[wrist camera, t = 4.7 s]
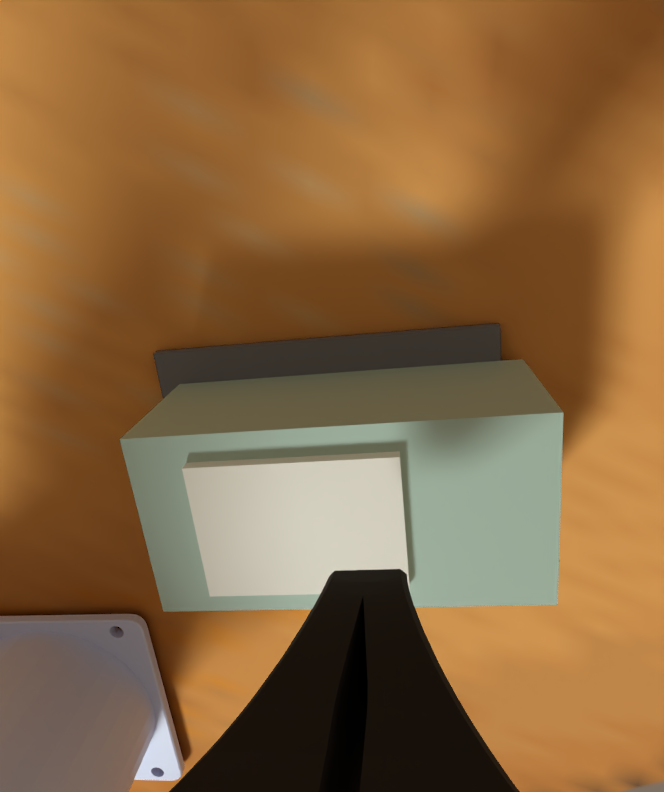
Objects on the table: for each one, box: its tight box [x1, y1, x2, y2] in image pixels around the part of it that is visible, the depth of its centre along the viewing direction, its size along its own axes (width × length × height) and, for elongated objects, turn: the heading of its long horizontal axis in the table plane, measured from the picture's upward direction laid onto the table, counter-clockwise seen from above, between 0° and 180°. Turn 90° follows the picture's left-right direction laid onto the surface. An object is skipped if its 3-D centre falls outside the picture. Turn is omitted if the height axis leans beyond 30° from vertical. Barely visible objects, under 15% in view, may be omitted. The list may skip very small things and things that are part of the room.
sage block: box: [120, 359, 563, 612], centre depth 15 cm, size 4×5×10 cm
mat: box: [153, 323, 501, 399], centre depth 17 cm, size 10×7×1 cm
